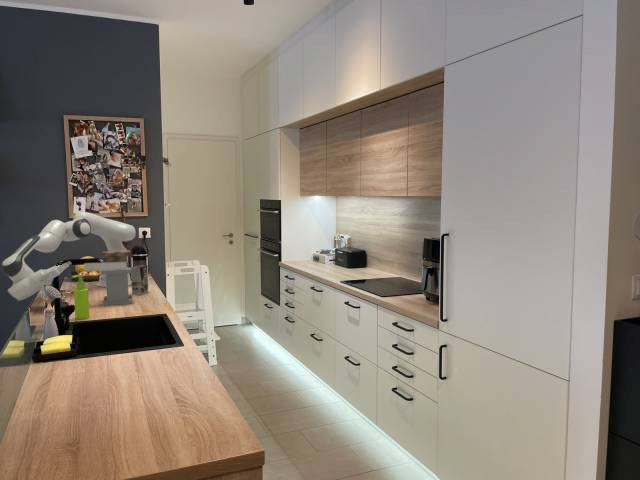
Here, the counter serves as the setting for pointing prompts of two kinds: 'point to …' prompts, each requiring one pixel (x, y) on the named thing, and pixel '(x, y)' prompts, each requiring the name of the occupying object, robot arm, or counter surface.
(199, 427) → the counter surface
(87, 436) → the counter surface
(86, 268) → the alu channel
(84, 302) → the soap dispenser
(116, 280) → the grey stand
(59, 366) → the counter surface
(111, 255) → the walnut stand
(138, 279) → the coffee box
